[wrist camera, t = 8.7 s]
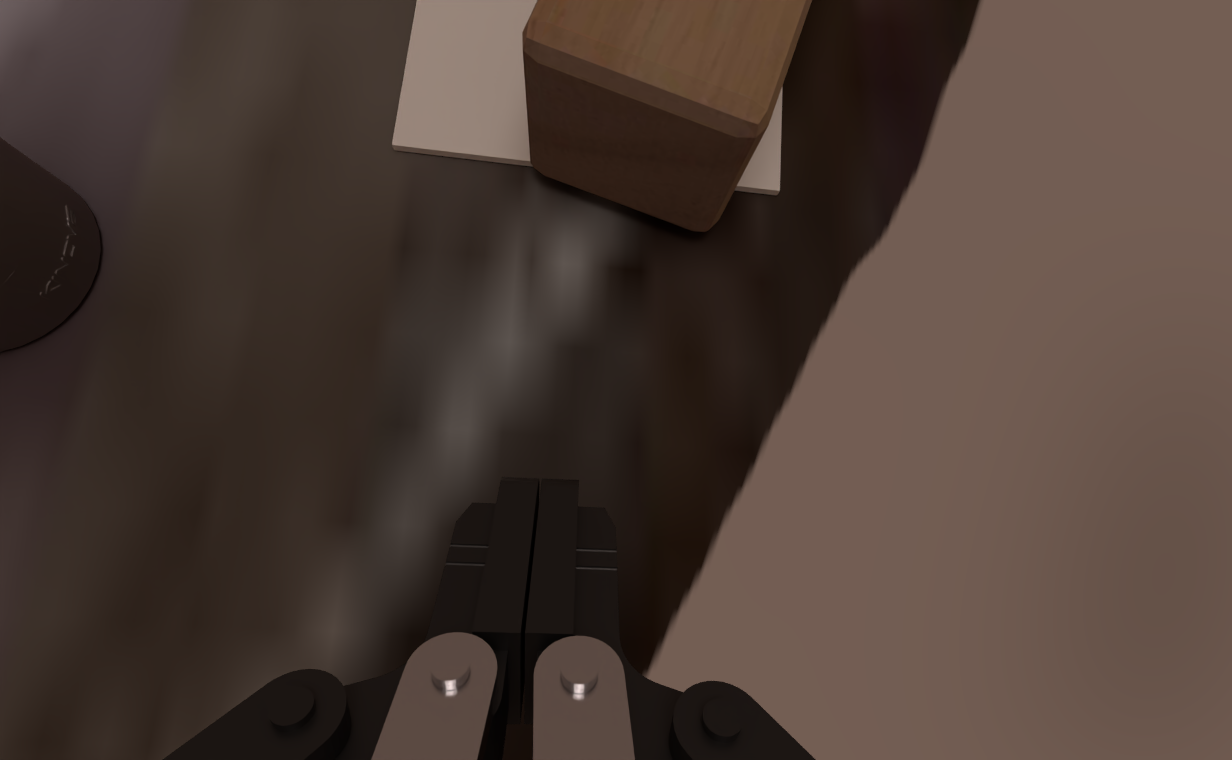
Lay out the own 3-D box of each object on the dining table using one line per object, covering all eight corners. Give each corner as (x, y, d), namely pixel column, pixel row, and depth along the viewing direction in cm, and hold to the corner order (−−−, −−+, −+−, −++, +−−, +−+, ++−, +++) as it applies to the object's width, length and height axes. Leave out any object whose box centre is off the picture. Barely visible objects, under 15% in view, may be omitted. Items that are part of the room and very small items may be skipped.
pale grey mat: (394, 150, 34) (391, 145, 34) (445, -146, 38) (443, -154, 38) (776, 195, 35) (779, 190, 35) (784, -95, 40) (787, -103, 39)
